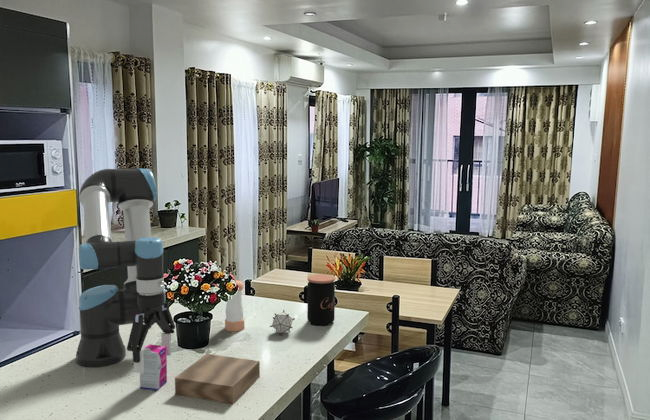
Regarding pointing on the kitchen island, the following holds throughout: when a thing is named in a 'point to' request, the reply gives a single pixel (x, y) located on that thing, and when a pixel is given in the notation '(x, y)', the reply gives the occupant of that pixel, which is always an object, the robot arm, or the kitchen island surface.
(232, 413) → the kitchen island surface
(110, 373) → the kitchen island surface
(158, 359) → the supplement box
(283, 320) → the spiky geometric ball
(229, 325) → the pepper shaker
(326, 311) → the coffee jar
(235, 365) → the block
